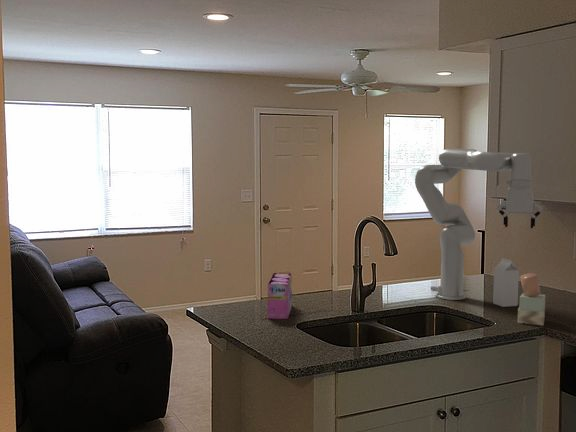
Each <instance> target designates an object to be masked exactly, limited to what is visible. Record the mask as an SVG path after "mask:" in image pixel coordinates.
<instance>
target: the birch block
mask: <svg viewBox="0 0 576 432" xmlns="http://www.w3.org/2000/svg"><path fill="white" fill-rule="evenodd" d="M545 313H546V308H545V309H544V310H543V312H534V311H525V310H519V308H517V324H523V323H525V325H536V326H544V324H545Z"/></svg>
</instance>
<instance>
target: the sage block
mask: <svg viewBox="0 0 576 432" xmlns="http://www.w3.org/2000/svg"><path fill="white" fill-rule="evenodd" d="M518 303H519V304H518V305H519V306H518V309H519V310H525V311H534V312H543V310H544V309H545V310H546V294H541V293H540V294H539V295H537V296H533V297H527V296H524V294H523V292H522V293H521V295H519V302H518Z"/></svg>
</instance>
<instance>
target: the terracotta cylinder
mask: <svg viewBox="0 0 576 432" xmlns="http://www.w3.org/2000/svg"><path fill="white" fill-rule="evenodd" d="M538 278H539V277H538V274H537V273H535V272H528V273H524V274H522V275H520V278H519V279H520V283H521V290H522V293H523V294H524V296H527V297H533V296H537V295H539V294H541V292H542V291H541V287H540V283H539V279H538Z"/></svg>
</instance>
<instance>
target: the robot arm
mask: <svg viewBox="0 0 576 432" xmlns="http://www.w3.org/2000/svg"><path fill="white" fill-rule="evenodd" d="M532 160H533V159H532V155H531V153H528V152H516V153H513V152H502V151H501V152H494V151H493V152H490V151H478V150H476V149H473V148H460V147H458V148H457V147H456V148H455V147H449V148H445V149H442V150H441V152H440V153H439V154H438V161H439V163H440V164H425V165H423V166H422V167H420V168H419V169H418V170H417V172H416V173H415V176H414V185H415V188H416V191H417V192H418V194H419V196H420V197H421V199H422V201H423V203H424V204H425V206H426V208H427V211H428V213H429V214H430V217H431V218H432V220H433V222H434V223H435V224H436V225H439V226H444V227H443V228H442V229H441V231H440V233H439V244H440V250H441V251H440V253H441V254H440V255H441V257H440V285H439V286H432V285H431V286H430V291H431V292H437V293H436V298H439V299H440V300H441V299H442V300H449V301H462V300H465V299H467V294H465V293H464V271H465V270H464V269H465V268H464V266H465V261H464V260H465V258H464V257H465V256H464V252H463V251H464V250H463V248H462V247H465V246H467V245H468V246H469V245H471V244H472V243H473V242H474V241H475V238H476V234H475V233H476V232H475V229H474V227H473V224H472V223H471V221H470V219H469V217H468V216H467V214H466V212H465V210H464V208H463V207H462V206H460V205H459V203H454V202H447V200H446V199H445V197H444V196H443V194H442V192H441V190H439V188H438V187H436V185H435V184H446V183H448V182H449V181H451V180H452V179H453V178H454V177H455V176H456V175H457V174H459V173H460V172H461V171H462V170H472V171H485V172H487V171H488V172H510V179H509V180H507V181H506V185H508V186H509V187H507V193H506V200H505V202H502V203H500V204H498V205H497V206H496V208H497V211H498V212H499V214H501V216H502V217H503V225H504V227H505V228H508V225H509V224H508V223H509V217H508V215H509V214H529V215H530V216H531V218H530V229H533V228H534V227H536V218H537V217H538V216H539V215H540V214H541V213H542V211H543V209H544V207H543V206H542V205H540V204H537V203H536V202H534V192H533V191H534V190H533V188H532V187H531V184H532V182H531V181H532ZM503 207H505V211H504V210H503V209H502V208H503ZM534 208H537V209H538V210H537V212H534Z"/></svg>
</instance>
